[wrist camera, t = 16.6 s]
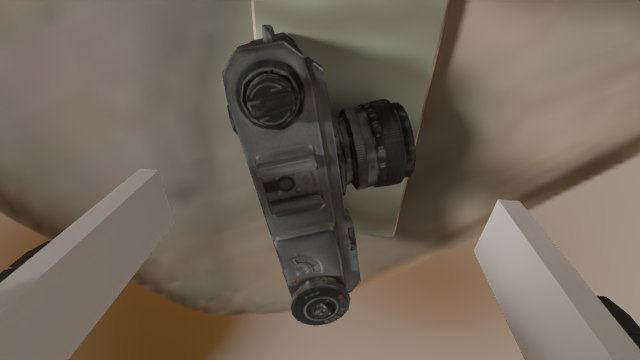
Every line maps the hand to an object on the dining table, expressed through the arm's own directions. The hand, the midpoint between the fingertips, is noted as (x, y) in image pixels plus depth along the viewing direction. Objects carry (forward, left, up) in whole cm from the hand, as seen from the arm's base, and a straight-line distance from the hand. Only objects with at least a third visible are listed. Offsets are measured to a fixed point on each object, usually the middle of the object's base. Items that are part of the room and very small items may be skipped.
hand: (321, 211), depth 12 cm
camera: (+2, 0, -11) cm, 12 cm away
